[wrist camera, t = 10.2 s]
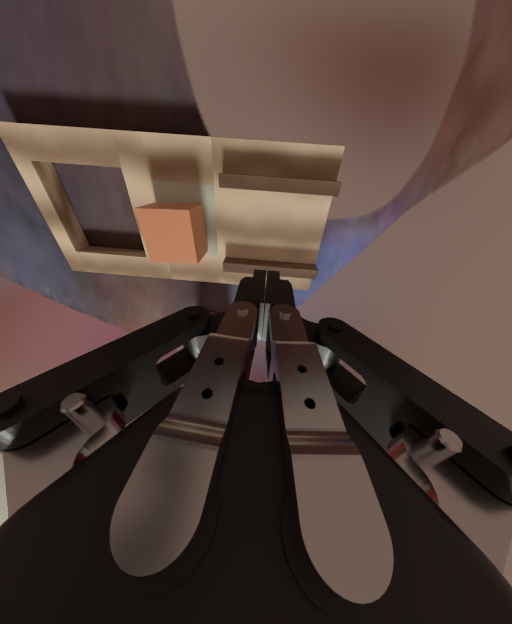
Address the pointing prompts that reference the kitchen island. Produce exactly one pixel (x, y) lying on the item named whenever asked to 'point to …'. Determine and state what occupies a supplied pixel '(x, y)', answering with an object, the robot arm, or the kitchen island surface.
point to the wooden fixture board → (191, 197)
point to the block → (173, 231)
